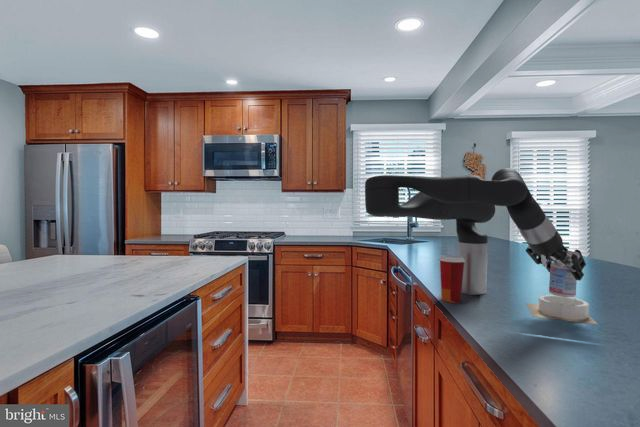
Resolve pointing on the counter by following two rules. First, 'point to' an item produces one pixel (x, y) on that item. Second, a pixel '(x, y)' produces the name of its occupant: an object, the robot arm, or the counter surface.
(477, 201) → the robot arm
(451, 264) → the paper cup
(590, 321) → the mat
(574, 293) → the pill bottle
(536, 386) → the counter surface
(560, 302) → the dish
